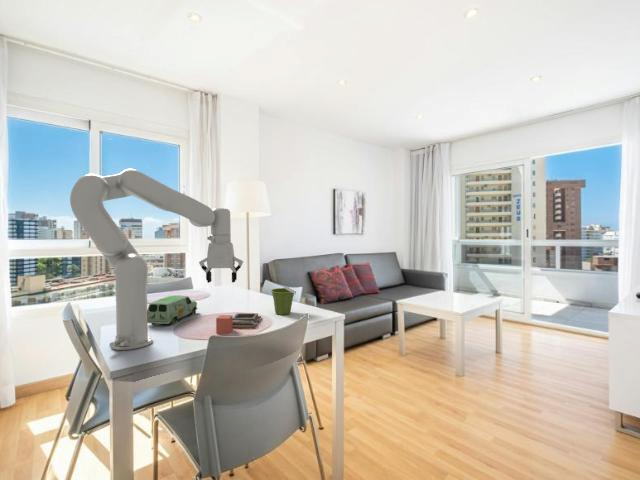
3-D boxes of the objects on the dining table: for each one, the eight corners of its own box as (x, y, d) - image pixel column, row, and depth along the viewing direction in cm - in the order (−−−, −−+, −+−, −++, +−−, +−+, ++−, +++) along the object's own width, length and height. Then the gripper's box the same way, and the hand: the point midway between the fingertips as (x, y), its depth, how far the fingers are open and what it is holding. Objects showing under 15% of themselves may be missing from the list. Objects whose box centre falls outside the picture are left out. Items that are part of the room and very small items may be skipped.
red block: (229, 333, 129) (229, 318, 128) (216, 333, 129) (216, 318, 128) (232, 329, 134) (232, 315, 134) (220, 329, 134) (220, 315, 134)
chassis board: (254, 328, 135) (254, 322, 135) (224, 328, 135) (224, 322, 135) (261, 318, 151) (261, 312, 151) (234, 318, 151) (234, 312, 151)
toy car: (198, 312, 161) (198, 292, 161) (168, 327, 136) (168, 303, 136) (177, 312, 162) (177, 291, 162) (145, 326, 138) (144, 302, 137)
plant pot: (276, 317, 152) (276, 293, 152) (267, 312, 162) (267, 289, 162) (299, 314, 158) (299, 291, 158) (288, 309, 168) (289, 287, 168)
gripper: (195, 239, 128) (196, 283, 129) (240, 239, 129) (241, 283, 129) (202, 239, 136) (202, 280, 136) (244, 239, 136) (245, 280, 137)
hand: (221, 282), depth 133 cm, fingers open, 9 cm apart
